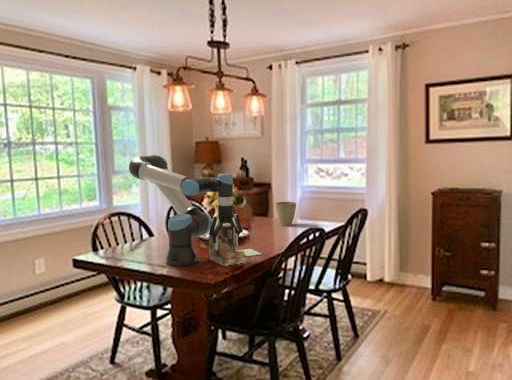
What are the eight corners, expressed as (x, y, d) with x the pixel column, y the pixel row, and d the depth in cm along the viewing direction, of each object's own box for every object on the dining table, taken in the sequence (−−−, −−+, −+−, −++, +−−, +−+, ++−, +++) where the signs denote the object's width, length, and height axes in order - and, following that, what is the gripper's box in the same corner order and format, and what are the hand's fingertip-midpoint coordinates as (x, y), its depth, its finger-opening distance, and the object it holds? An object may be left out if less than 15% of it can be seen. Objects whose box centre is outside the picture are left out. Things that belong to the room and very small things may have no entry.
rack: (223, 267, 211) (222, 242, 209) (209, 259, 225) (208, 236, 224) (249, 262, 217) (248, 238, 216) (233, 255, 232) (233, 232, 231)
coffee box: (236, 256, 226) (236, 225, 224) (234, 259, 219) (233, 227, 218) (218, 255, 227) (218, 224, 225) (216, 258, 221) (215, 227, 219)
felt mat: (241, 257, 227) (241, 256, 227) (230, 252, 238) (230, 251, 238) (261, 254, 232) (261, 253, 232) (249, 249, 244) (249, 248, 244)
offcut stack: (225, 266, 212) (225, 255, 212) (222, 264, 215) (222, 253, 215) (245, 262, 218) (245, 251, 217) (242, 261, 221) (241, 250, 220)
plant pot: (300, 224, 317) (299, 202, 315) (290, 227, 304) (290, 204, 303) (281, 222, 325) (281, 201, 323) (271, 225, 312) (271, 203, 310)
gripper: (207, 207, 211) (208, 252, 214) (249, 203, 222) (249, 246, 225) (201, 205, 218) (202, 249, 220) (242, 202, 229) (242, 243, 231)
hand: (226, 248), depth 223 cm, fingers closed on coffee box, 10 cm apart
